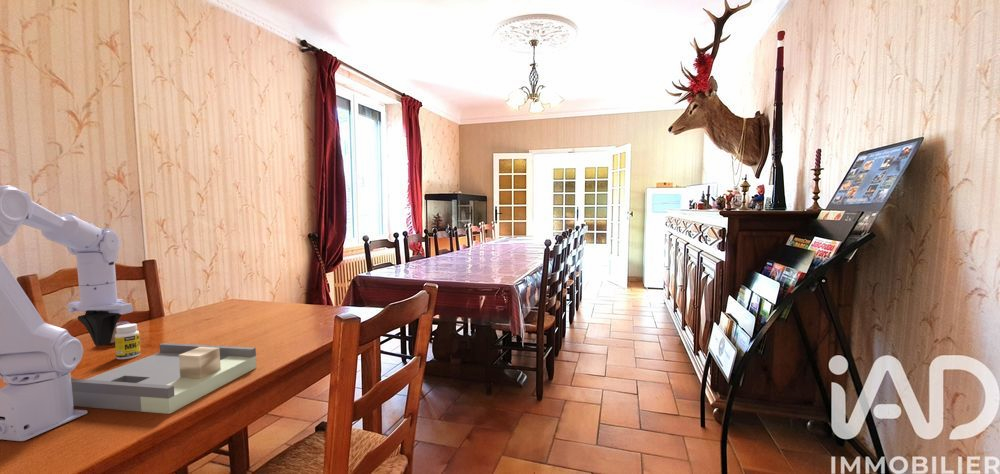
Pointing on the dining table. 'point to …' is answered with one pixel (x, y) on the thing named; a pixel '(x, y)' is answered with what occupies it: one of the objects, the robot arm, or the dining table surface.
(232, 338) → the dining table surface
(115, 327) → the skull
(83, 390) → the board
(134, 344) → the supplement bottle
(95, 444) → the dining table surface
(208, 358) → the birch block
